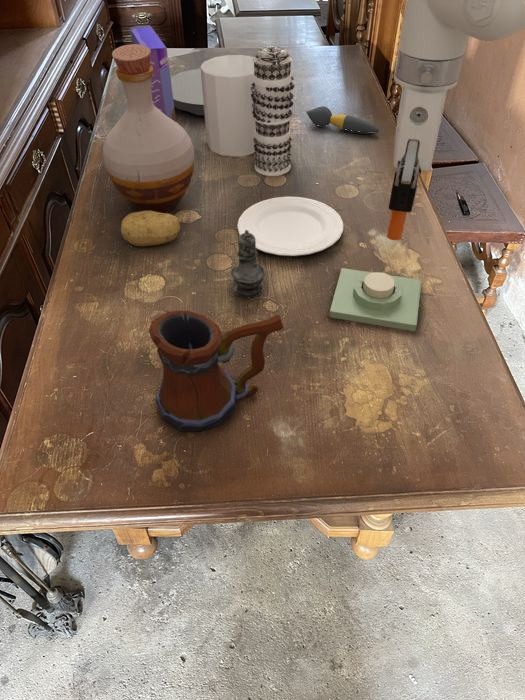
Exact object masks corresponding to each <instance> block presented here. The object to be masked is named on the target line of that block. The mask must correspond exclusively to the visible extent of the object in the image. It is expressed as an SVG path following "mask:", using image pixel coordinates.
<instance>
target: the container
mask: <svg viewBox="0 0 525 700" xmlns="http://www.w3.org/2000/svg"><path fill="white" fill-rule="evenodd" d="M252 58H253V56H250V55H244V54H226V55H220V56H213V57H211V58H209V59H207V60H205V61H204V60H203V62H202V64H201V65H200V67H199V68H200V70H201V80H202V91H203V102H204V113H205V115H204V123H205V134H206V145H207V147H208V148H209V150H210V151H211V152H214V153H216V154H217V155H220V156H227V157H243V156H249V155H252V154H254V152H255V150H254V144H255V143H254V140H253V139H254V138H255V129H256V125H255V120H254V118H253V113H252V111H253V107H252V104H253V100H252V97H251V94H252V90H251V84H252V83H253V82H254V81H253V73H254V61H253V60H252ZM254 89H255V88H254ZM254 96H255V94H254ZM255 106H256V105H255Z"/></svg>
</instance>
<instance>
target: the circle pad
mask: <svg viewBox="0 0 525 700" xmlns="http://www.w3.org/2000/svg"><path fill="white" fill-rule="evenodd" d="M389 275H390V274H388V273H385V272H382V271H381V272H379V271H376V272H375V271H374V272H372V273H370V274H368V275H367V276H366V277H365V279H364V284H363V291H364V293H365V294H366V295H368V296H370V297H372V298H379V299H382V298H388V297H390V296H391V295H392V293H393V290H394V285H395V282H394V279H393V278H392V277H391V276H389Z"/></svg>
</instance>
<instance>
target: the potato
mask: <svg viewBox="0 0 525 700" xmlns="http://www.w3.org/2000/svg"><path fill="white" fill-rule="evenodd" d="M180 230H181V224H180V221H179V219H178V217H177V216H175V215H173V214H171V213H167V212H166V213H160V212H155V211H141V210H140V211H135V212H131V213H128V214H127V215H126V216H125V217H124V218H123V219H122V220H121V226H120V233H121V235H122V238H123V239H124V240H125V241H126V242H128V243H129V244H130V245H131V246H135V247H153V246H158V245H164V244H167V243H170V242H173V241H174V240H175V239H176V238H177V237H178V234H179V232H180Z"/></svg>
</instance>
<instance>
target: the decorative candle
mask: <svg viewBox="0 0 525 700" xmlns="http://www.w3.org/2000/svg"><path fill="white" fill-rule="evenodd" d="M252 57H253V58H252V60H253V61H254V73H253V81H254V82H253V83H252V84H251V90H252V94H251V97H252V100H253V104H252V107H253V111H252V113H253V118H254V120H255V125H256V129H255V138H254V139H253V140H254V143H255V144H254V150H255V152H254V153H253V157H254V158H253V163H254V170H255V172H257V173H258V174H260V175H263V176H266V177H277V176H281V175H285V174H287V173H288V172H289V171H290V170H291V169H292V166H291V162H292V159H291V156H292V152H291V148H292V144H291V143H292V138H291V137H292V136H291V129H290V128H291V127H290V126H291V122H290V121H291V120H292V117H293V111H292V110H291V109H290V108H292V107H293V105H294V102H293V98H294V94H293V93H292V92H291V91H292V90H294V88H295V84H294V83H293V81H294V80H295V78H294V76H293V75H292V71H291V70H292V60H293V56H292V55H291V54H289V53H288V50H287V49H286V48H284V47H282V46H277V45H267V46H263V47H261V48H259V49H258V51H257V52H256V54H255V55H253V56H252ZM254 88H255V89H254ZM254 94H255V96H254ZM255 105H256V106H255Z"/></svg>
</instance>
